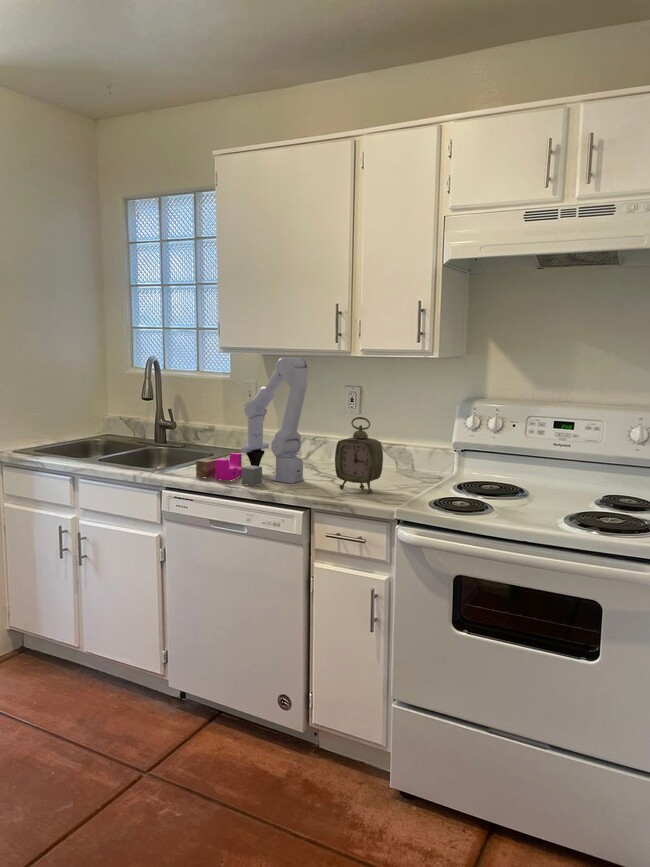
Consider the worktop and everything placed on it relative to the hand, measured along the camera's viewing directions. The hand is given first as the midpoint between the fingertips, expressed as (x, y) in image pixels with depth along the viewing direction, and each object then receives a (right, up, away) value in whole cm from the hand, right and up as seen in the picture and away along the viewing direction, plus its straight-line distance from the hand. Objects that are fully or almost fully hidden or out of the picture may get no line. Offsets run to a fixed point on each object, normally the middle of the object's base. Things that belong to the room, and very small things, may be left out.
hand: (255, 469), depth 249 cm
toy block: (-8, -3, -6) cm, 10 cm away
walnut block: (-17, -2, -7) cm, 19 cm away
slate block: (+1, -4, -18) cm, 18 cm away
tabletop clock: (+38, -6, -24) cm, 45 cm away
